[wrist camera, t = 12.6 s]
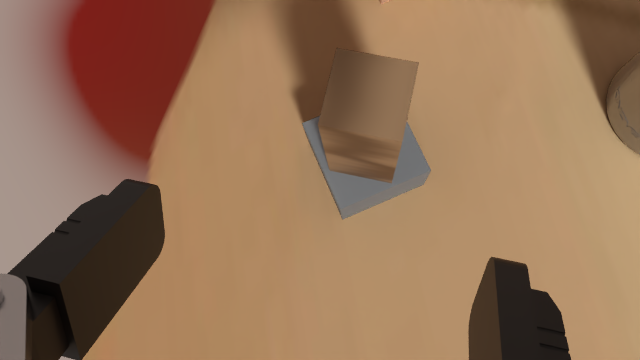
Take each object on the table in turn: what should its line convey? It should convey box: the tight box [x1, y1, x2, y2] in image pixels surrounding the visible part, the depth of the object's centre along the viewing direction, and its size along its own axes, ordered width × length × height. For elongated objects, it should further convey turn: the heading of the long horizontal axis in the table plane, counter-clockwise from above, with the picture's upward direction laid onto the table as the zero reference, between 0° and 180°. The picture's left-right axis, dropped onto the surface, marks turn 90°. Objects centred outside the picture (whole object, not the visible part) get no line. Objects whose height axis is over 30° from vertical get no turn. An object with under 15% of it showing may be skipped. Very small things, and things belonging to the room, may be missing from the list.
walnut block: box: [318, 48, 419, 183], centre depth 32 cm, size 4×4×10 cm
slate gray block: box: [302, 116, 431, 219], centre depth 39 cm, size 7×7×5 cm
